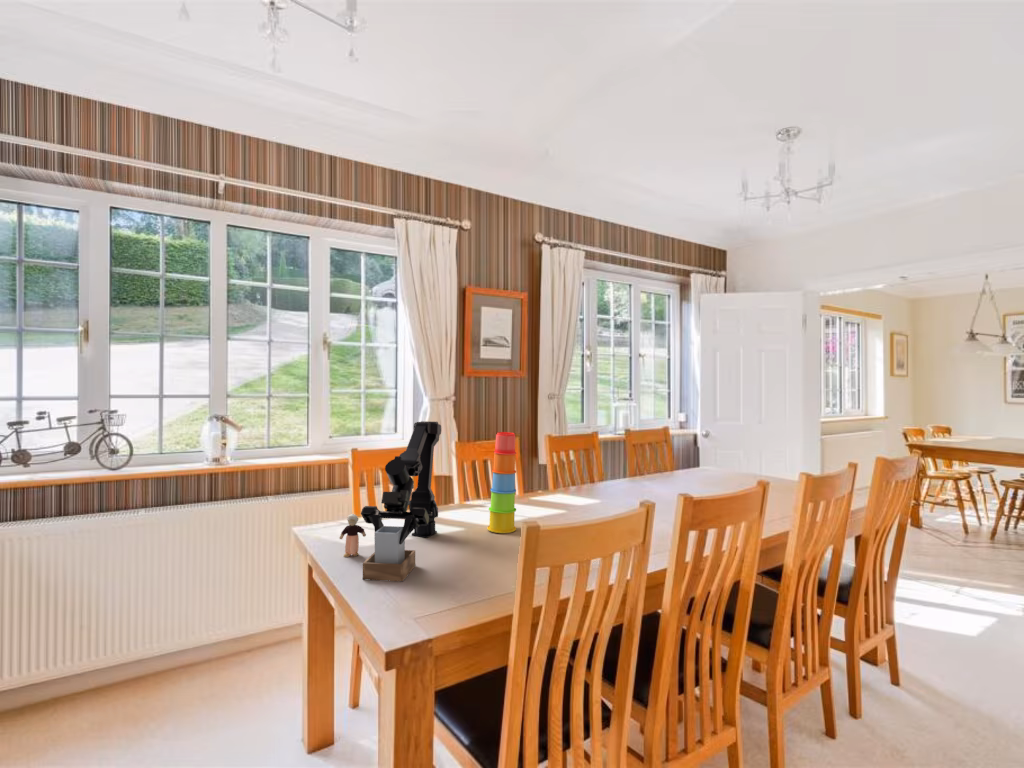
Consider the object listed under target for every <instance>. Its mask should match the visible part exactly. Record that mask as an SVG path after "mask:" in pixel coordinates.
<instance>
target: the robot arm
mask: <svg viewBox="0 0 1024 768" xmlns="http://www.w3.org/2000/svg"><path fill="white" fill-rule="evenodd" d="M441 434H442V425H441V424H440V423H439V422H438V421H426V420H425V421H423V420H421V421H416V422H414V423H413V431H412V434H411V437H410V438H409V441H408V444H407V446H406V449H405V451H403V452H402V453H400V454H399V456H398V455H397V456H396V455H395V456H394V458H393V459H391V460H389V461H388V462H387V463H386V464H385V468H384V469H385V473H386V475H387V478H388V479H389V481H390V484H392V489H391V491H382V497H381V504H383V508H384V509H385V511H383V510H379V508H378V506H377V505H364V506H363V507H362V509H361V511H360V516H361V517H362V518H363V520H364V522H365V523H366V524H371V525H373V528H374V533H375V532H376V531H377V530H378V529H380V528H381V527H382V526H385V525H384V523H383V521H382V520H383V519H396V520H400V519H401V520H404V523H403V526H402V527H403V529H402V533H401V536H400V541H399V544H402V543H403V542H404V540H405V541H406V539H407V538H408V537H409V535H410V534H411V536H415V537H420V538H429V537H430V536H433V535H435V534H437V532H438V531H437V530H436V520H435V519H436V518H438V517H439V507H438V505H437V503H436V500H435V497H436V496H435V494H434V491H433V490H432V488H431V487H432V477H433V466H434V465H433V464H434V452H435V451H434V450H435V446H436V445H437V443H438V442H439V440H440V435H441ZM412 477H417V485H416V486H417V487H416V488H415V486H414V484H415V483H414V482H415V481H414V480H413V478H412ZM414 488H415V490H414V491H413V489H414ZM408 508H409V511H408Z"/></svg>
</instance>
